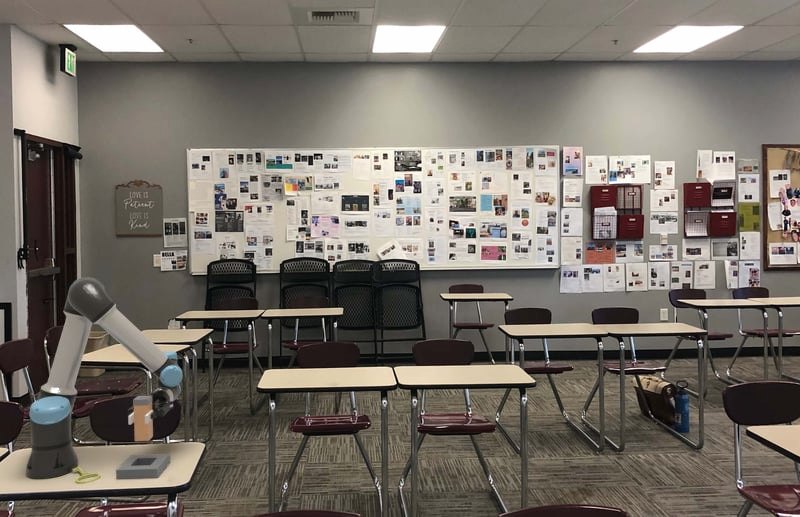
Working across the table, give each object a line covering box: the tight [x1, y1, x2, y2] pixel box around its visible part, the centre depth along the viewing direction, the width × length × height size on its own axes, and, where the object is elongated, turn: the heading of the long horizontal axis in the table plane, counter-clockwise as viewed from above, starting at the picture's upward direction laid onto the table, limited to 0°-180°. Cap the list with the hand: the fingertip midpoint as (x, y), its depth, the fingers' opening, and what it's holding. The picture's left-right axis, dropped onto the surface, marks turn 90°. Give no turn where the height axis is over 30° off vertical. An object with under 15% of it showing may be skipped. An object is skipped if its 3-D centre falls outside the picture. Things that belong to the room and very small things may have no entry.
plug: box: [132, 395, 154, 442], centre depth 205 cm, size 5×5×14 cm
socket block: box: [115, 453, 171, 480], centre depth 203 cm, size 13×13×3 cm
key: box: [71, 465, 101, 485], centre depth 198 cm, size 7×12×2 cm, turn 62°
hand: (137, 420), depth 200 cm, fingers closed on plug, 4 cm apart
